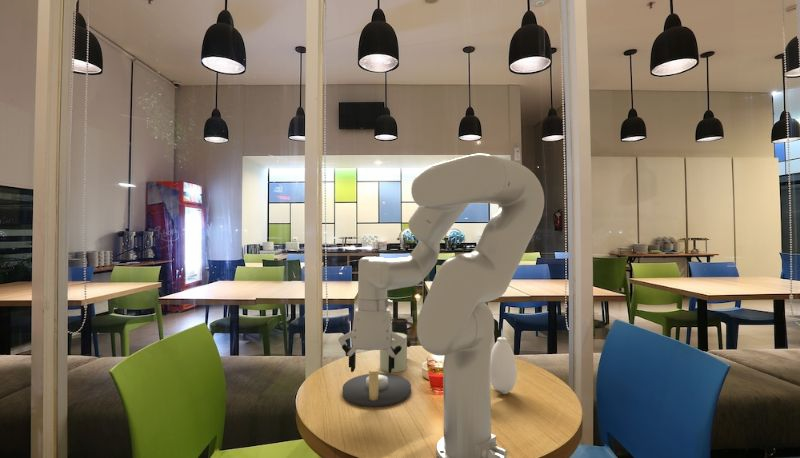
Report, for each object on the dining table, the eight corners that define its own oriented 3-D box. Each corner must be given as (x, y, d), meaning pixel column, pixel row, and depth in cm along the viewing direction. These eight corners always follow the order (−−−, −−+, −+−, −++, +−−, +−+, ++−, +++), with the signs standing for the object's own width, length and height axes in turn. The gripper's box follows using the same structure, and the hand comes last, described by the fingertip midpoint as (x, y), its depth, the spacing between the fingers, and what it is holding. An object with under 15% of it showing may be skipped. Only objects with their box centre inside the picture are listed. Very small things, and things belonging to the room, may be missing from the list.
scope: (387, 316, 141) (412, 317, 138) (387, 353, 140) (413, 355, 138) (381, 321, 133) (408, 322, 130) (381, 360, 133) (408, 362, 130)
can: (375, 368, 124) (375, 333, 124) (400, 364, 128) (400, 329, 128) (386, 378, 116) (385, 339, 116) (412, 373, 120) (412, 336, 120)
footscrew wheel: (425, 391, 103) (425, 360, 103) (371, 414, 90) (371, 379, 90) (381, 373, 116) (381, 346, 117) (329, 390, 104) (329, 360, 104)
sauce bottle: (517, 400, 100) (516, 333, 100) (487, 396, 102) (486, 331, 102) (517, 389, 107) (516, 326, 107) (489, 385, 109) (489, 324, 110)
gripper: (406, 302, 99) (405, 366, 99) (342, 301, 100) (341, 364, 100) (405, 308, 92) (404, 377, 92) (336, 307, 92) (335, 375, 92)
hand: (371, 370), depth 96 cm, fingers open, 9 cm apart
